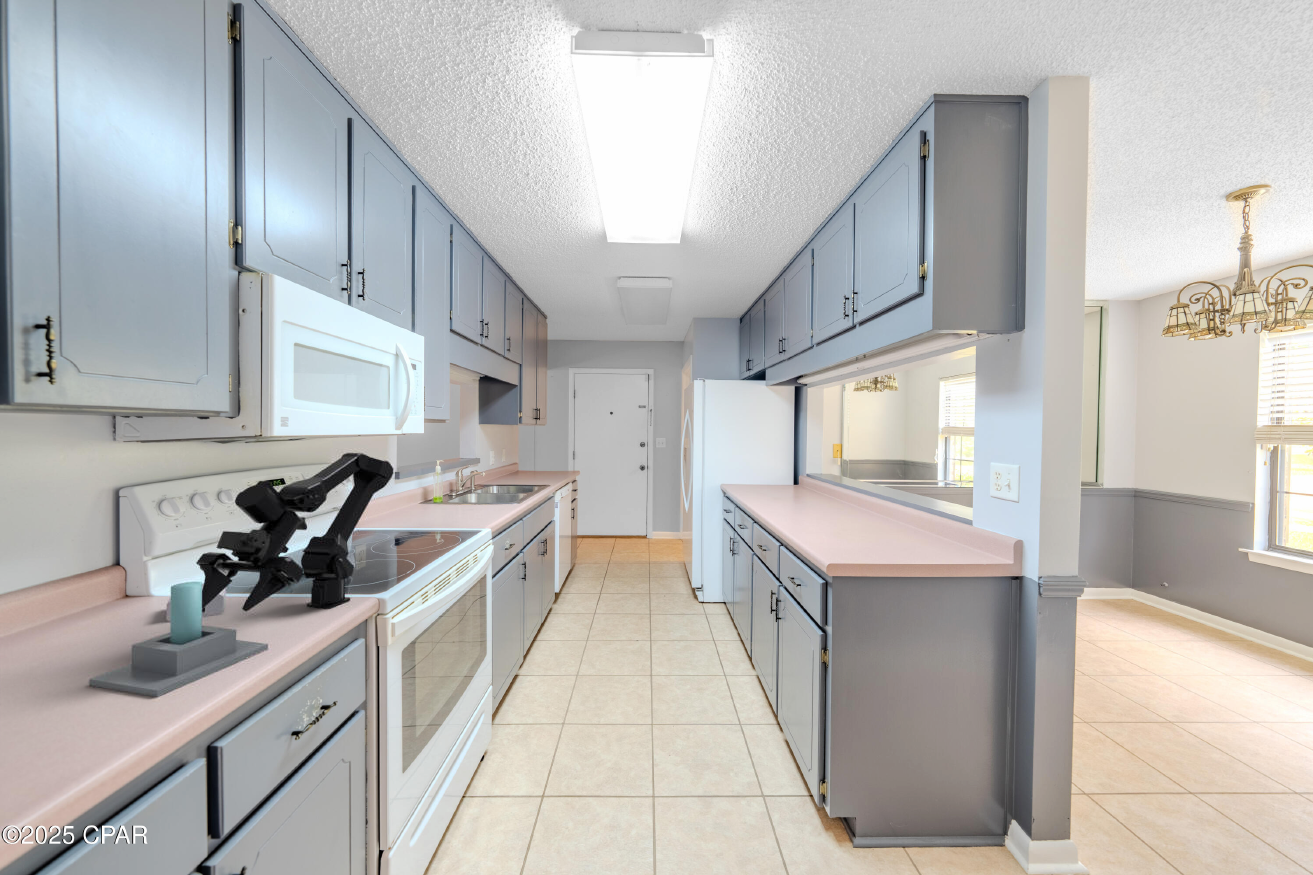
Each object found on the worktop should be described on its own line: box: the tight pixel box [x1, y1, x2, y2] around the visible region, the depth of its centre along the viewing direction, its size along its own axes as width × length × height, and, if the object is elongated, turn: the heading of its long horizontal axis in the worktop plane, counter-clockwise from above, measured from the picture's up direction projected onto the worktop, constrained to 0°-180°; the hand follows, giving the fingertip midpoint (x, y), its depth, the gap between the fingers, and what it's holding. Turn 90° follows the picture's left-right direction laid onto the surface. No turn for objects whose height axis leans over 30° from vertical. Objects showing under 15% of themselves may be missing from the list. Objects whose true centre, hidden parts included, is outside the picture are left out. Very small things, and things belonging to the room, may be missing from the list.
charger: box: [165, 585, 227, 623], centre depth 118 cm, size 5×9×15 cm
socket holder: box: [88, 624, 269, 698], centre depth 90 cm, size 18×14×5 cm
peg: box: [169, 581, 203, 645], centre depth 90 cm, size 4×4×13 cm
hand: (222, 608), depth 97 cm, fingers open, 9 cm apart
